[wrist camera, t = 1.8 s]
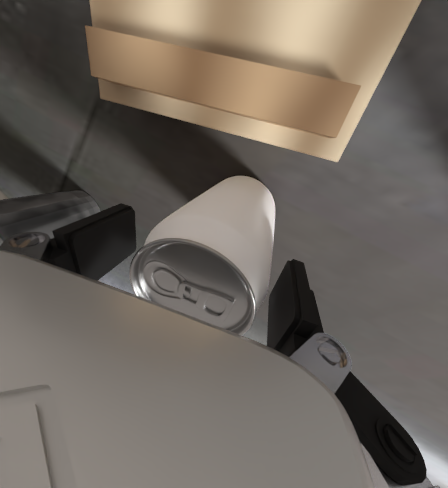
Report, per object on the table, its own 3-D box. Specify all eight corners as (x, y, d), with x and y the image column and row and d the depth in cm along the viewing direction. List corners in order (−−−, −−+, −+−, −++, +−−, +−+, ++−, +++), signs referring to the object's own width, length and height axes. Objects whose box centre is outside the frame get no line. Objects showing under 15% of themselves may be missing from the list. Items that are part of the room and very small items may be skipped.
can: (220, 163, 16) (119, 198, 6) (288, 190, 16) (302, 277, 6) (202, 224, 20) (120, 312, 10) (258, 248, 19) (233, 366, 9)
